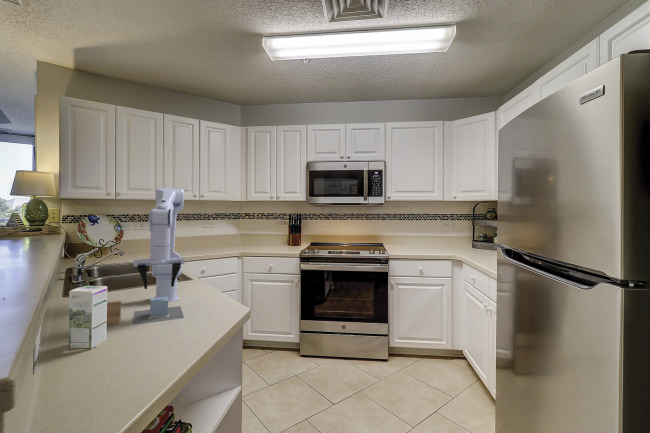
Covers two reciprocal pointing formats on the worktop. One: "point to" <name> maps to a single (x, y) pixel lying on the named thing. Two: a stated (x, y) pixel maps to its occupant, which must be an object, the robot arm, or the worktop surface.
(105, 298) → the syrup box
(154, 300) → the blue cube
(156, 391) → the worktop surface
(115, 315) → the walnut block
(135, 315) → the letter mat
